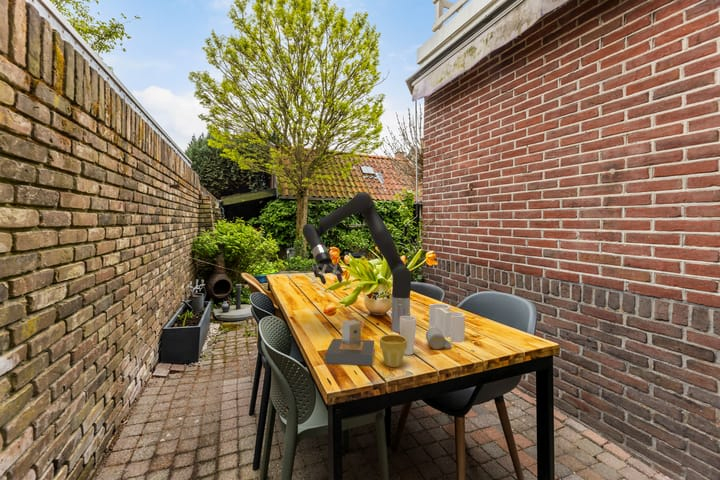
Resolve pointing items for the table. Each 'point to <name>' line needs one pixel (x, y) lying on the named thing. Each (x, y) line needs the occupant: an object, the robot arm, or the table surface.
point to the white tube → (408, 332)
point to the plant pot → (393, 349)
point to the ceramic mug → (436, 338)
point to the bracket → (447, 322)
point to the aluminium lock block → (351, 334)
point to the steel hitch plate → (350, 353)
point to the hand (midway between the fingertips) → (333, 282)
